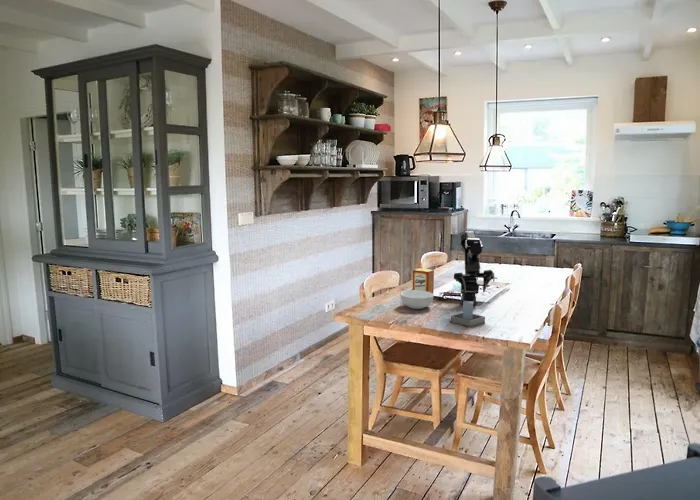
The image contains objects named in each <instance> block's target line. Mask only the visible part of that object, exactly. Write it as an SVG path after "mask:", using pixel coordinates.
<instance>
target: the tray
mask: <svg viewBox="0 0 700 500" xmlns="http://www.w3.org/2000/svg"><path fill="white" fill-rule="evenodd" d="M449 320H450V323H452V324H455V325H459V326H463V327H466V328H474V327H476V326H479V325H482V324H485V323H486V316H485V315H484V316H483V315H480V314H476V313H473V320H471V321H469V320H465V319H463V312H460V313H456V314H453V315H450V319H449Z"/></svg>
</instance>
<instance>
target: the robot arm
mask: <svg viewBox="0 0 700 500" xmlns="http://www.w3.org/2000/svg"><path fill="white" fill-rule="evenodd" d="M459 246H460V250H461V251H462V252H463V253H464V255H463V257H464V259H463V260H464V273H463V272H454V274H453V279H454V280H455V281H456V282H458V283H459V284H460V293H461V294H462V295H461V296H462V297H461V302H460V305H463V301H473V306H475V305H478V303H477V296H476V294H477V295H478V294H479V290H480V284H479V282H478V279H477V278H483V283H482V285H483V286H482V290H483V293H485V291H486V290H487V288H488V285H489V283H490V282H491V281H492V280H494V279H495V272H494V271H493V270H491V269H485V270H483V272H481V264H480V257H481V255H482V252H483V249H484V244H483V242H482V240H481V239H480V238H479V237H477V235H476V234H475V231H474V230H465V231H464V233H462V234H461V235H460V238H459Z"/></svg>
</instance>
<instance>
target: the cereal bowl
mask: <svg viewBox="0 0 700 500" xmlns="http://www.w3.org/2000/svg"><path fill="white" fill-rule="evenodd" d="M400 300H401V303H402V304H403V305H405V306H407V307H409V309H413V310H414V309H415V310H421V309H424V308H426V307H429V306H431V304H432V303H433V300H434V293H433V294H432V293H430V292H427V291H421V290H413V289H412V290H410V289H409V290H403V291H402V292H401V293H400Z"/></svg>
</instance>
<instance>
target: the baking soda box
mask: <svg viewBox="0 0 700 500" xmlns="http://www.w3.org/2000/svg"><path fill="white" fill-rule="evenodd" d="M434 277H435V270H434V269H430V268H421V267H418V268H415V269H413V270H412V290H421V291H427V292H430V293H432V294H433V295H434V288H435V287H434V282H435V281H434V280H435V279H434Z"/></svg>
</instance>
